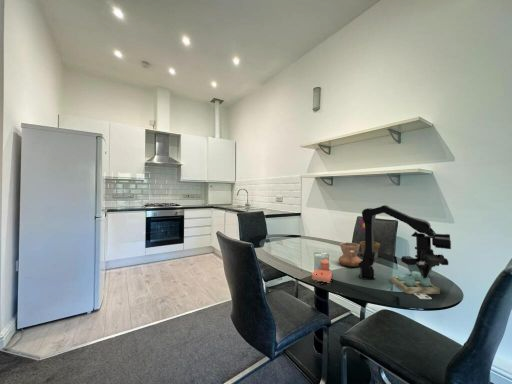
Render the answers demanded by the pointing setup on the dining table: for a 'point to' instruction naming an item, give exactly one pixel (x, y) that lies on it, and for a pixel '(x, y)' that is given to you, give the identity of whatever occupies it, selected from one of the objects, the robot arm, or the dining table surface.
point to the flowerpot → (362, 243)
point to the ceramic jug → (349, 254)
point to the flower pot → (416, 269)
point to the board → (417, 288)
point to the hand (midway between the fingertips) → (424, 277)
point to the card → (422, 296)
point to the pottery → (323, 272)
